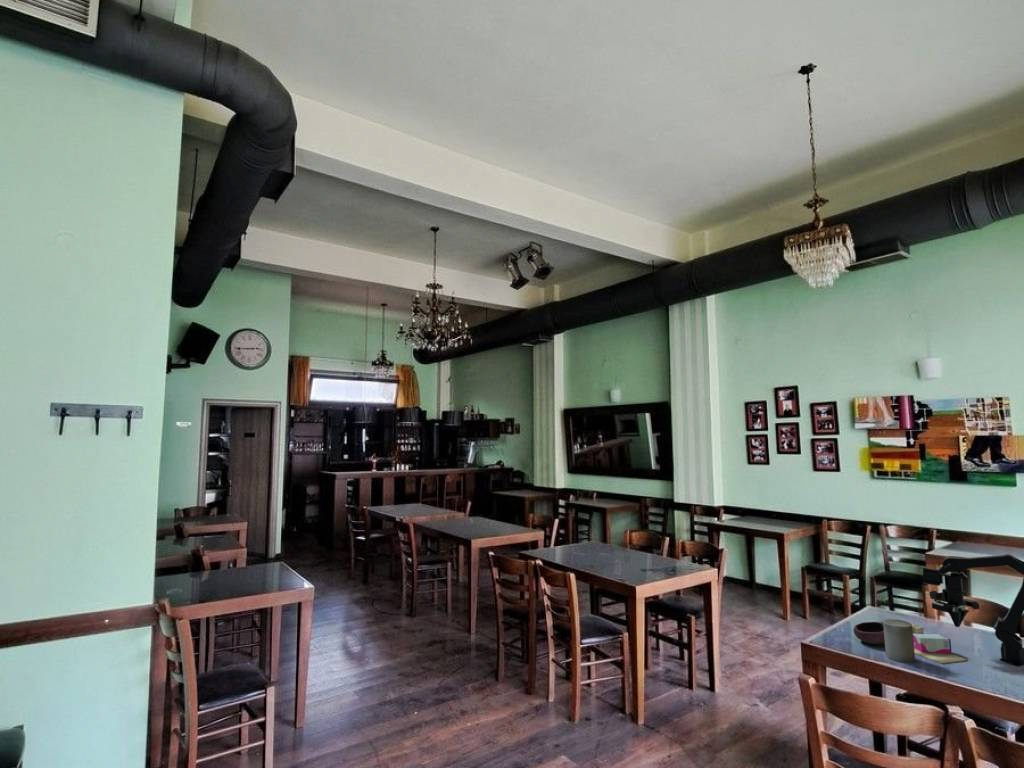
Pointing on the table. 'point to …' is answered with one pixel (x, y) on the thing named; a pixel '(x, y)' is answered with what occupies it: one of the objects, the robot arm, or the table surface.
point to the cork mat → (940, 657)
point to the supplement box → (932, 643)
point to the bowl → (870, 632)
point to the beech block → (917, 629)
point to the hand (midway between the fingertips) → (957, 626)
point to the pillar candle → (899, 640)
